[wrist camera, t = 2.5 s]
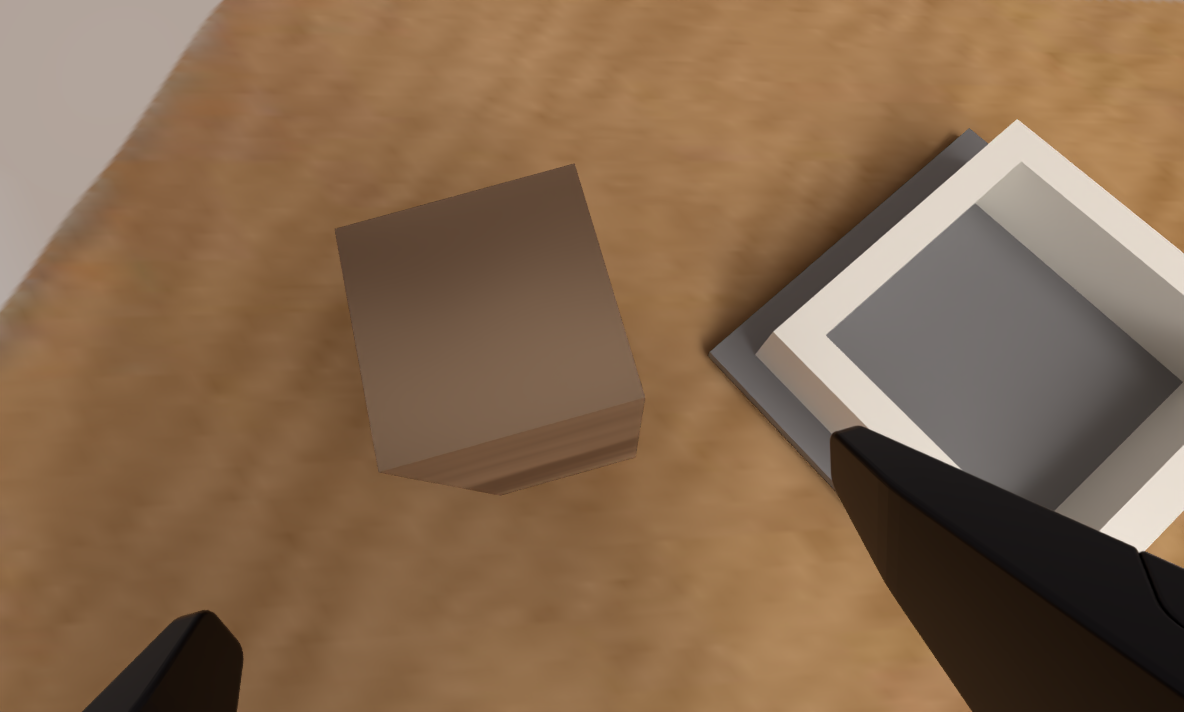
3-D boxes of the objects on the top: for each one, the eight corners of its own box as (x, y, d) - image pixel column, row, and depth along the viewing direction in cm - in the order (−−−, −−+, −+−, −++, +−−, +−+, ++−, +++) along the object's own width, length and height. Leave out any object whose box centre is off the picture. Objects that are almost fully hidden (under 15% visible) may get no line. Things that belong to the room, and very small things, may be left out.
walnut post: (635, 457, 20) (645, 397, 10) (500, 495, 20) (379, 471, 10) (598, 328, 21) (574, 163, 11) (470, 364, 21) (334, 229, 11)
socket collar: (1267, 391, 19) (1382, 369, 16) (1000, 665, 18) (1074, 695, 15) (961, 136, 22) (1012, 78, 19) (708, 355, 20) (721, 328, 17)
